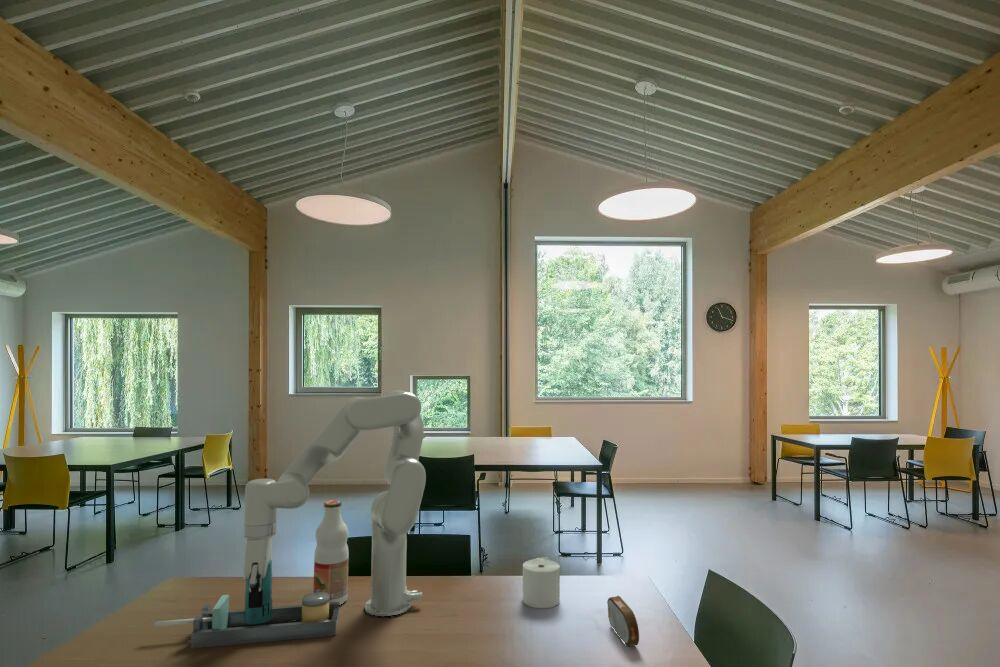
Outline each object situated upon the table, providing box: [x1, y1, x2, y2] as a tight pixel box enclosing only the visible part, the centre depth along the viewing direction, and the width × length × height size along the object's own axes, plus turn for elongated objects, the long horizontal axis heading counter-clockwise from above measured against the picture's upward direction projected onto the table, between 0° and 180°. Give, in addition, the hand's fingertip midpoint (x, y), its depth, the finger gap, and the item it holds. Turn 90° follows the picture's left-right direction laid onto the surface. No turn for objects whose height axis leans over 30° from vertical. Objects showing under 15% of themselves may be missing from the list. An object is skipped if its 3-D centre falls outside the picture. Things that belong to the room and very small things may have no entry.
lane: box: [190, 602, 340, 649], centre depth 142 cm, size 33×11×6 cm, turn 102°
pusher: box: [153, 594, 230, 629], centre depth 138 cm, size 16×8×8 cm, turn 102°
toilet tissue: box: [522, 556, 561, 609], centre depth 161 cm, size 11×12×10 cm
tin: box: [606, 595, 640, 647], centre depth 140 cm, size 15×3×8 cm, turn 9°
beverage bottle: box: [244, 558, 273, 625], centre depth 142 cm, size 6×7×20 cm
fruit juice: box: [312, 499, 349, 606], centre depth 160 cm, size 9×9×28 cm
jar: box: [301, 592, 330, 622], centre depth 144 cm, size 7×7×8 cm
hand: (258, 601), depth 141 cm, fingers closed on beverage bottle, 5 cm apart
